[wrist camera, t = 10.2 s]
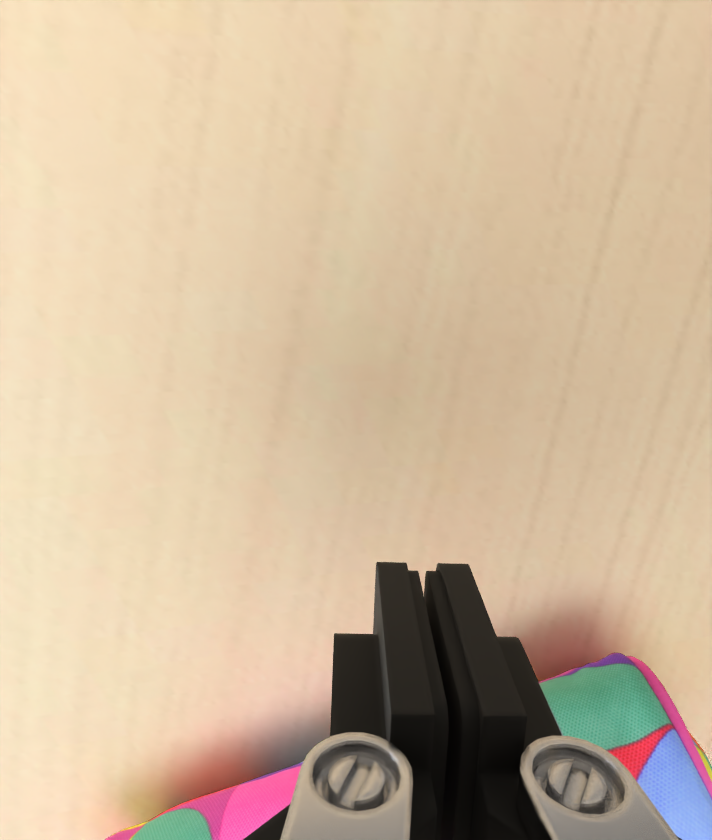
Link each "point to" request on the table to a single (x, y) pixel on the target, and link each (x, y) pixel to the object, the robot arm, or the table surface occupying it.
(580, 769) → the robot arm
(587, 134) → the table surface
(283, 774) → the pencil case
